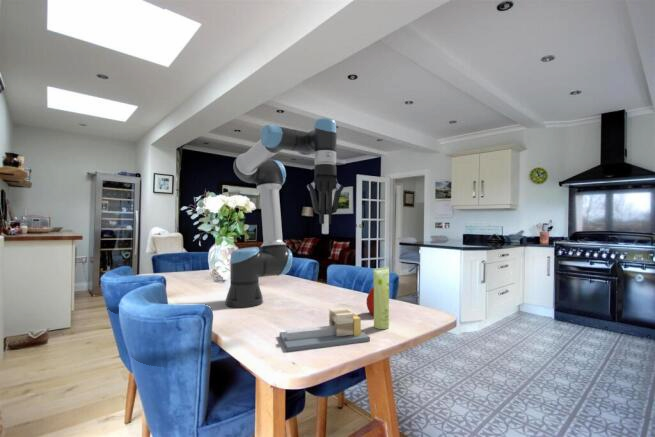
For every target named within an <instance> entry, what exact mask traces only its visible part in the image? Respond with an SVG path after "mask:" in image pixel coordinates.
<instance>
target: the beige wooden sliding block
mask: <svg viewBox="0 0 655 437" xmlns="http://www.w3.org/2000/svg"><path fill="white" fill-rule="evenodd" d="M328 310H329V311H328V318H329V319H328V322H329V323H328V324H329V325H328V326H332V325H335V335H336V336H337V337H338V336H346V335H353V313H354V312H352V311H351V310H348V309H347V308H345V307H339V308H329V309H328ZM350 311H351V312H352V313H351V312H350Z"/></svg>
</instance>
